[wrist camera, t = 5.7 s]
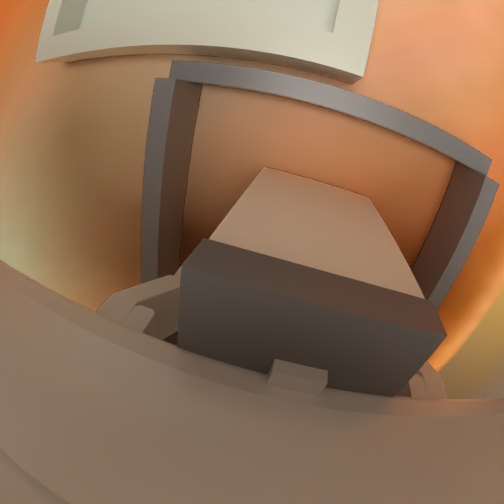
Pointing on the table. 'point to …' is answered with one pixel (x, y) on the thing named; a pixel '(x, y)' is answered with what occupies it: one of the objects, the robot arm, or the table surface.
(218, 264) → the block
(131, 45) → the tray
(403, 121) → the bay
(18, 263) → the table surface
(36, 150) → the table surface
